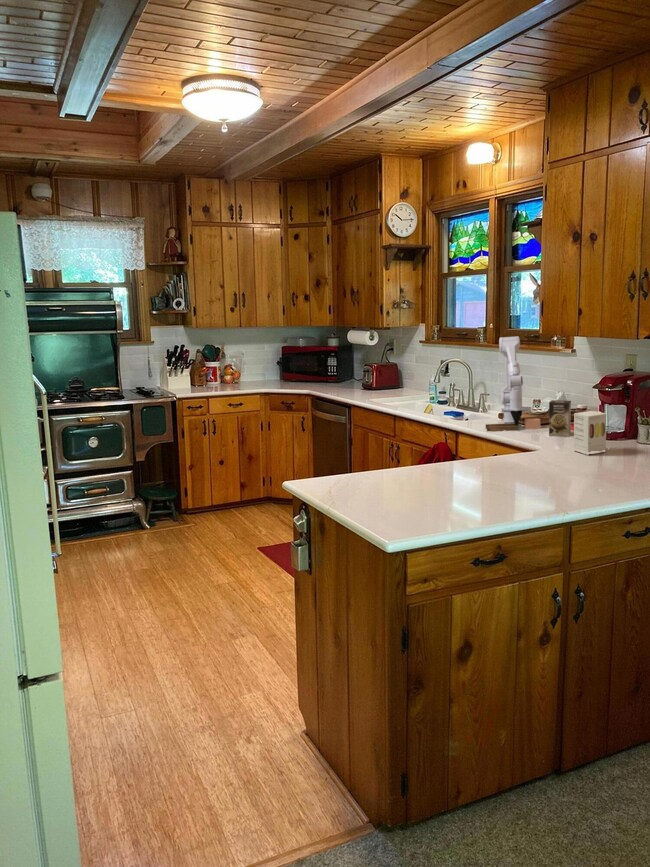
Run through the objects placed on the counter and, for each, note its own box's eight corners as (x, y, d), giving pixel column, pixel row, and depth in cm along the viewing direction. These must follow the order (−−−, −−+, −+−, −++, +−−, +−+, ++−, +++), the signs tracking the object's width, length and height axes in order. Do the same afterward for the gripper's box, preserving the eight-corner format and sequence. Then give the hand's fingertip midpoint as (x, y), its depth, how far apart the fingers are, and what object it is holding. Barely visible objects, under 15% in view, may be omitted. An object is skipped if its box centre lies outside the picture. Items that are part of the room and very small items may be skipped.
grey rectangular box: (548, 436, 328) (548, 402, 325) (551, 433, 334) (550, 399, 330) (569, 436, 324) (568, 402, 320) (571, 433, 329) (571, 400, 326)
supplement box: (587, 456, 289) (587, 416, 286) (573, 451, 298) (573, 413, 294) (606, 452, 292) (607, 413, 289) (591, 448, 301) (591, 410, 297)
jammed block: (524, 427, 350) (524, 418, 349) (539, 427, 349) (539, 418, 348) (525, 429, 346) (525, 420, 345) (540, 428, 345) (540, 419, 344)
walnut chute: (485, 428, 355) (485, 423, 354) (519, 426, 352) (519, 421, 352) (487, 431, 347) (486, 426, 347) (521, 430, 345) (521, 424, 344)
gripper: (501, 401, 343) (502, 428, 346) (532, 399, 341) (532, 426, 344) (500, 398, 350) (500, 425, 353) (530, 397, 348) (530, 423, 350)
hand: (516, 425), depth 349 cm, fingers closed
